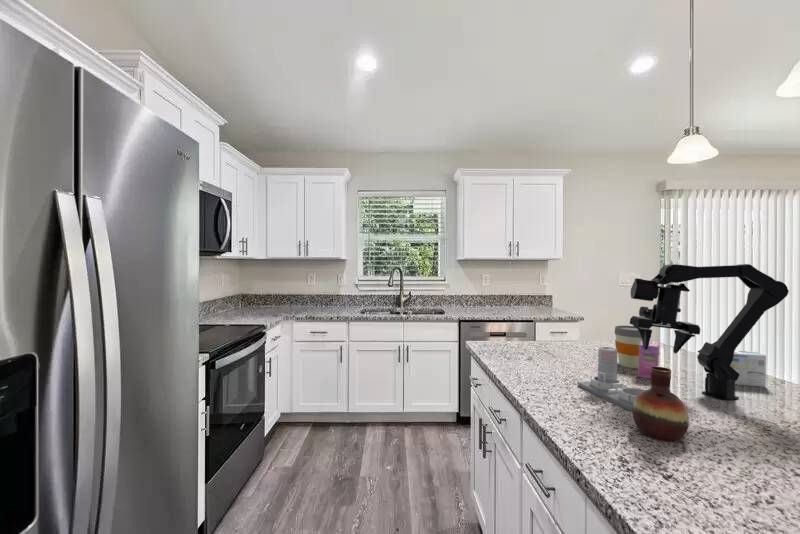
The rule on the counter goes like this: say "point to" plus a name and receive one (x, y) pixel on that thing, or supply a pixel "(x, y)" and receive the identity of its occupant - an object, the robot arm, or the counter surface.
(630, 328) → the reusable coffee cup
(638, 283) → the robot arm
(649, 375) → the box
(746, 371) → the light bulb box
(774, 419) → the counter surface
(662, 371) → the vase
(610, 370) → the energy drink
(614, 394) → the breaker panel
